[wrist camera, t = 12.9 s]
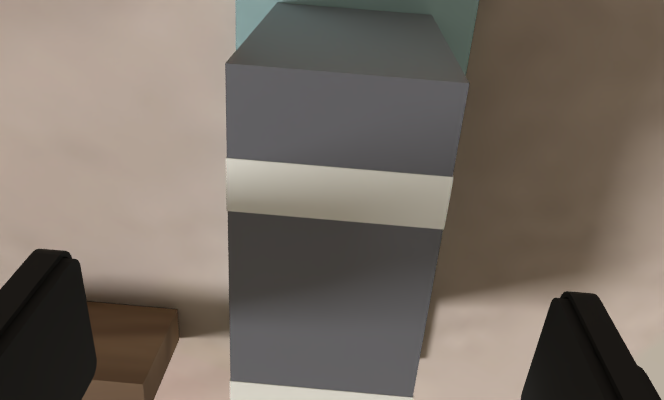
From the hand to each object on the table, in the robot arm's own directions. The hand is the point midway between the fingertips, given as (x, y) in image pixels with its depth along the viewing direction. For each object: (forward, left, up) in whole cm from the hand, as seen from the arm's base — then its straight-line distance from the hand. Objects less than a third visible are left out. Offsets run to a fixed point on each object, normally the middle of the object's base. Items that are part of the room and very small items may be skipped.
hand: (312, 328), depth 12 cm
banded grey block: (+1, 0, -8) cm, 8 cm away
